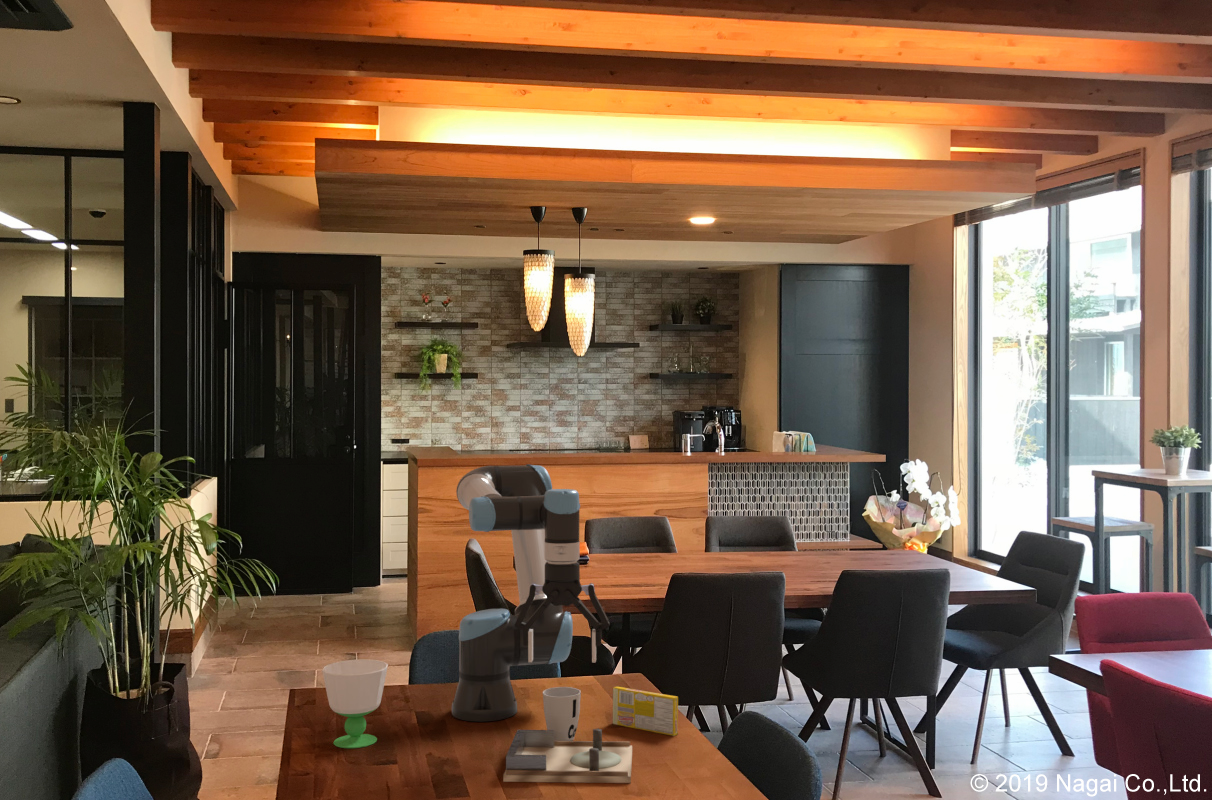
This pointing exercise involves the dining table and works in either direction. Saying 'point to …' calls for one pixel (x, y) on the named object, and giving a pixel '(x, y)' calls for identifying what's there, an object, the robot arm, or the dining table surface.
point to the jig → (579, 762)
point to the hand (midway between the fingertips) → (562, 661)
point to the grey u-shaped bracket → (529, 740)
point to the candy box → (645, 710)
